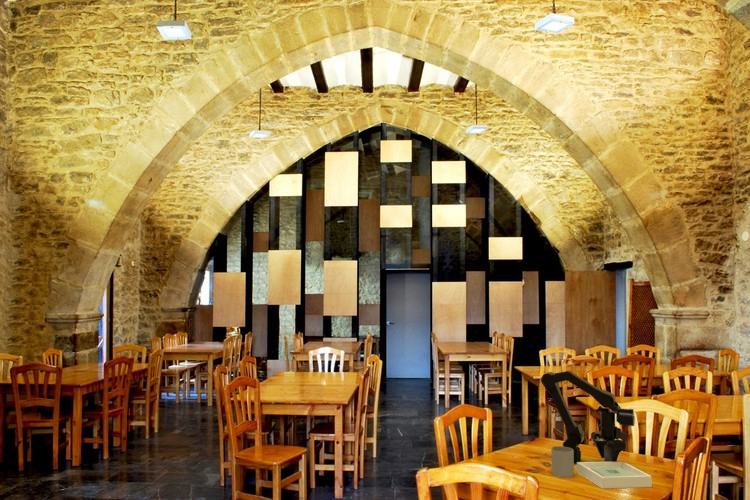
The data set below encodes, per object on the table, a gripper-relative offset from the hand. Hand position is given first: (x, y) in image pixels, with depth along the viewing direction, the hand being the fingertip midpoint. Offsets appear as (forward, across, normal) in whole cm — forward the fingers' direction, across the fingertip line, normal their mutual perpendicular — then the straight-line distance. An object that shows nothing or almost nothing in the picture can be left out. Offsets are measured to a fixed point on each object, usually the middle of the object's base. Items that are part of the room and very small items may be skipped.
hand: (608, 461), depth 250 cm
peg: (+2, 0, 0) cm, 2 cm away
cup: (+3, -8, +24) cm, 25 cm away
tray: (+2, -16, +7) cm, 18 cm away
